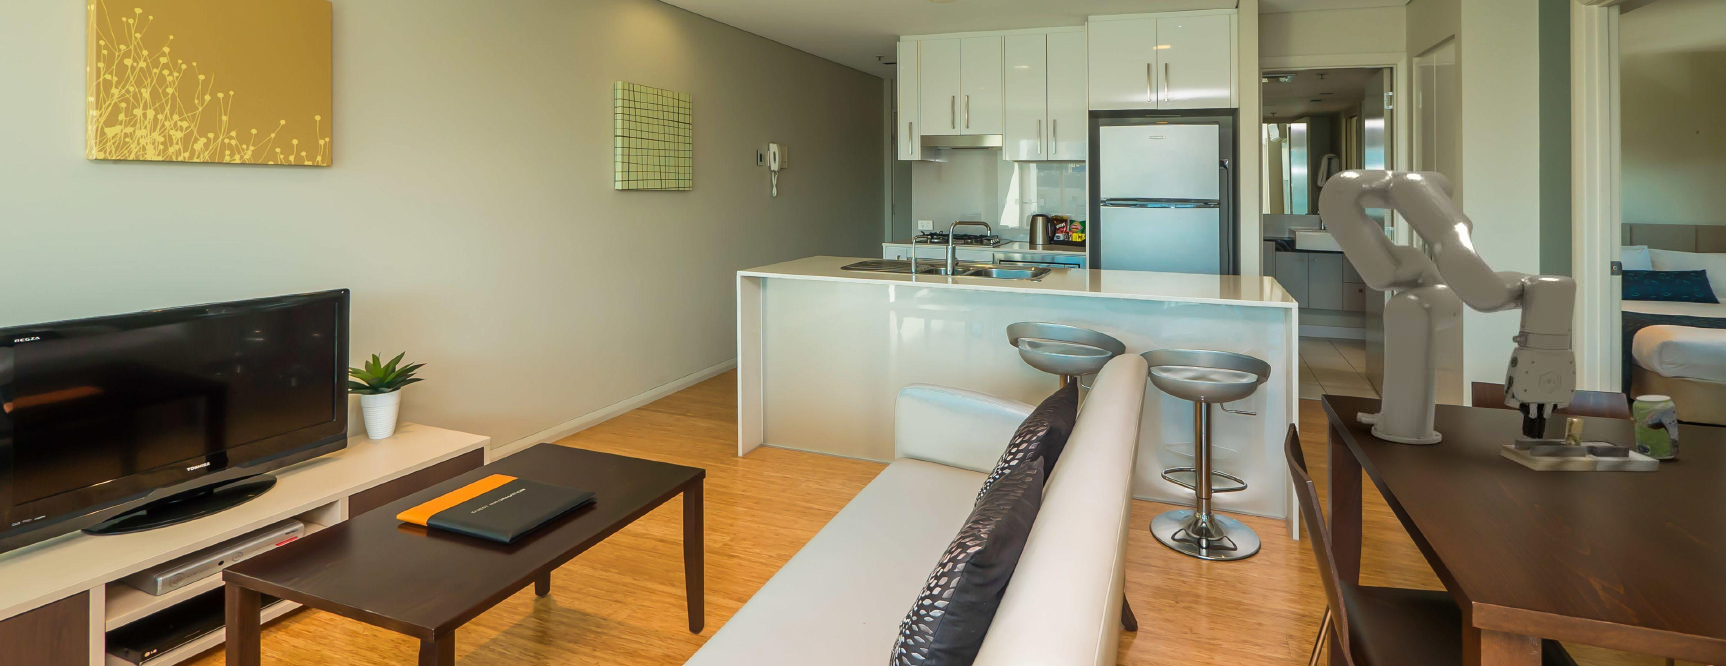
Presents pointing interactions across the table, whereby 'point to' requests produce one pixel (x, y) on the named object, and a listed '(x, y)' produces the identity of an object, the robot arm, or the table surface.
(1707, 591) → the table surface
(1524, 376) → the robot arm
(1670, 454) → the beverage can
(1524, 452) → the lock board
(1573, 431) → the bolt
